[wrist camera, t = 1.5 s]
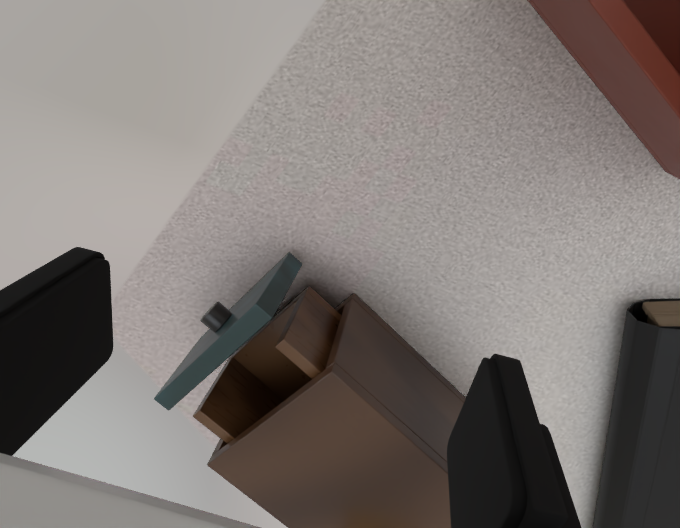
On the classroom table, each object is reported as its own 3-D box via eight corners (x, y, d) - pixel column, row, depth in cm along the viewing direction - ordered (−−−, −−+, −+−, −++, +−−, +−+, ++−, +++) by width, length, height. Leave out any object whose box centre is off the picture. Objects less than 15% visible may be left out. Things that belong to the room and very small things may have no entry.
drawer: (188, 326, 34) (137, 387, 28) (276, 238, 30) (238, 288, 24) (321, 437, 37) (300, 515, 31) (419, 371, 32) (418, 446, 26)
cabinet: (252, 376, 36) (206, 465, 29) (354, 292, 32) (331, 371, 24) (372, 477, 39) (359, 583, 31) (482, 413, 34) (500, 519, 26)
